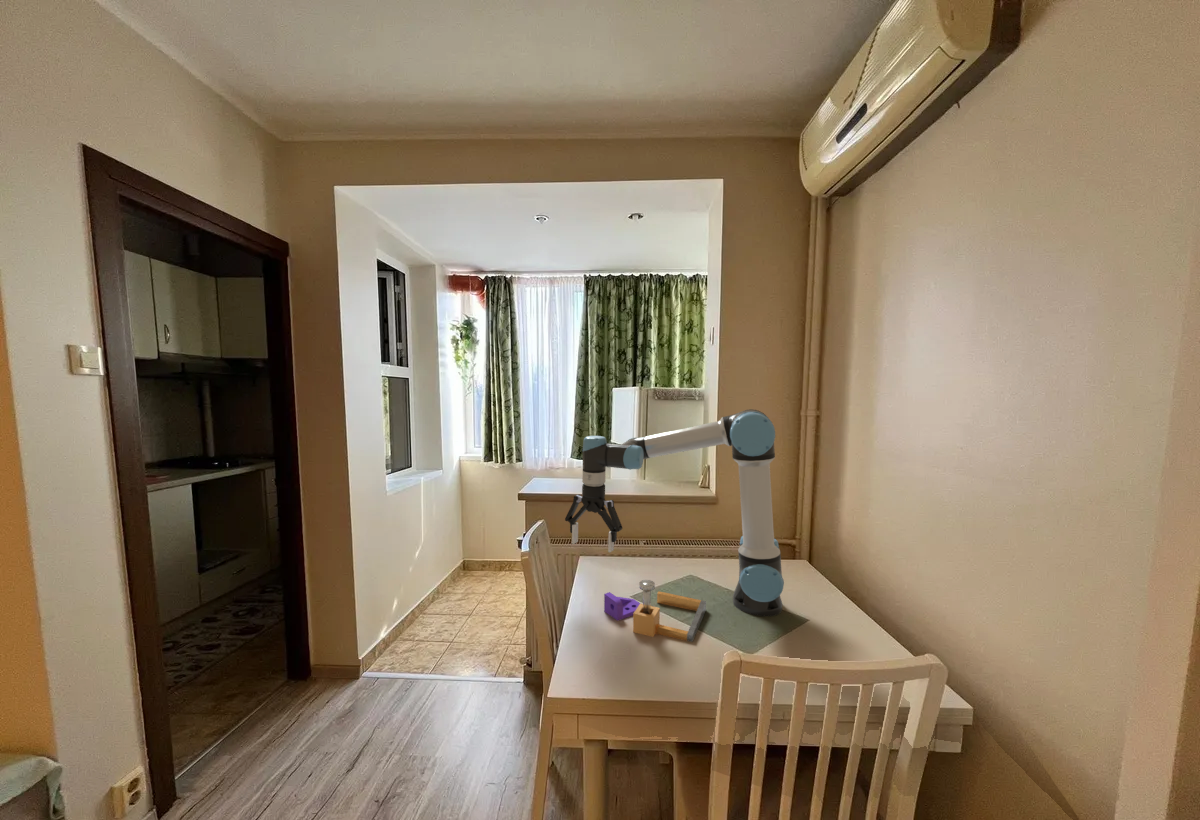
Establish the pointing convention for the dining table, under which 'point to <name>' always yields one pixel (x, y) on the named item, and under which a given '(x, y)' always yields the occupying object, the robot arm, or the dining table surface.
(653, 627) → the sleeve
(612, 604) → the bracket
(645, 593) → the round-headed metal pin
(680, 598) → the u-shaped frame
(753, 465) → the robot arm
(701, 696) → the dining table surface
